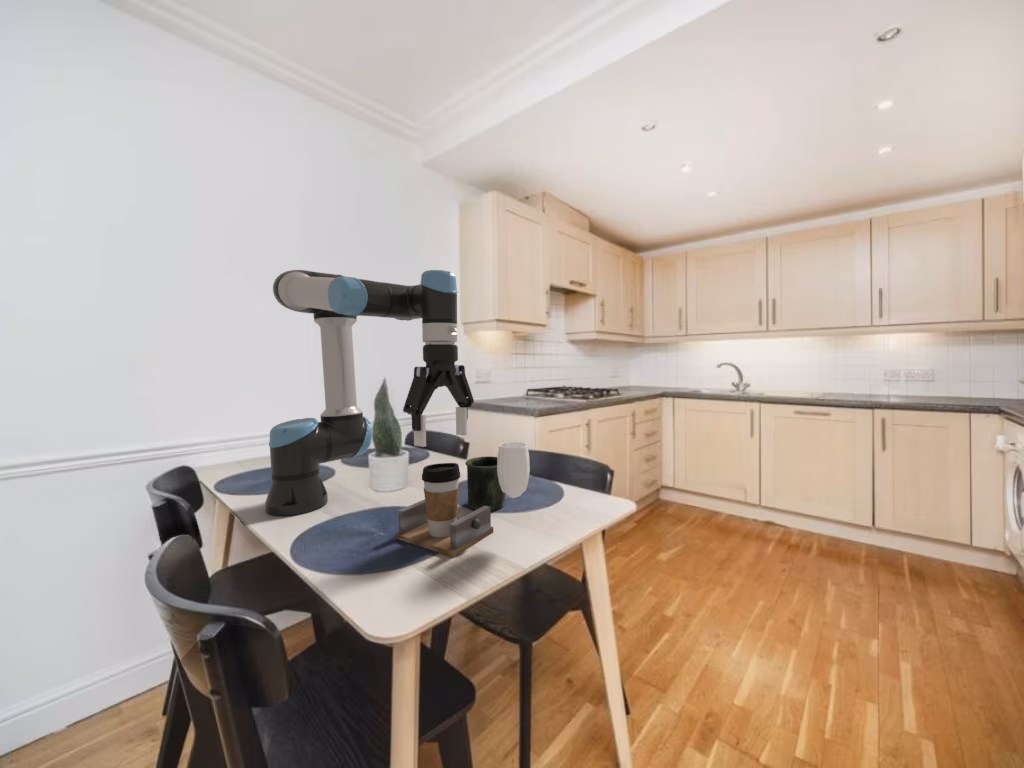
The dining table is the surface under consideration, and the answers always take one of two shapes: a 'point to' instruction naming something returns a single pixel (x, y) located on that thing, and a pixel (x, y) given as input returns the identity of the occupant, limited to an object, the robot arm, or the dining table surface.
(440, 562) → the dining table surface
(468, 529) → the holder
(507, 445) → the cup
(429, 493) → the coffee cup
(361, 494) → the dining table surface
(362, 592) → the dining table surface
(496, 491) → the mug
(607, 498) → the dining table surface
